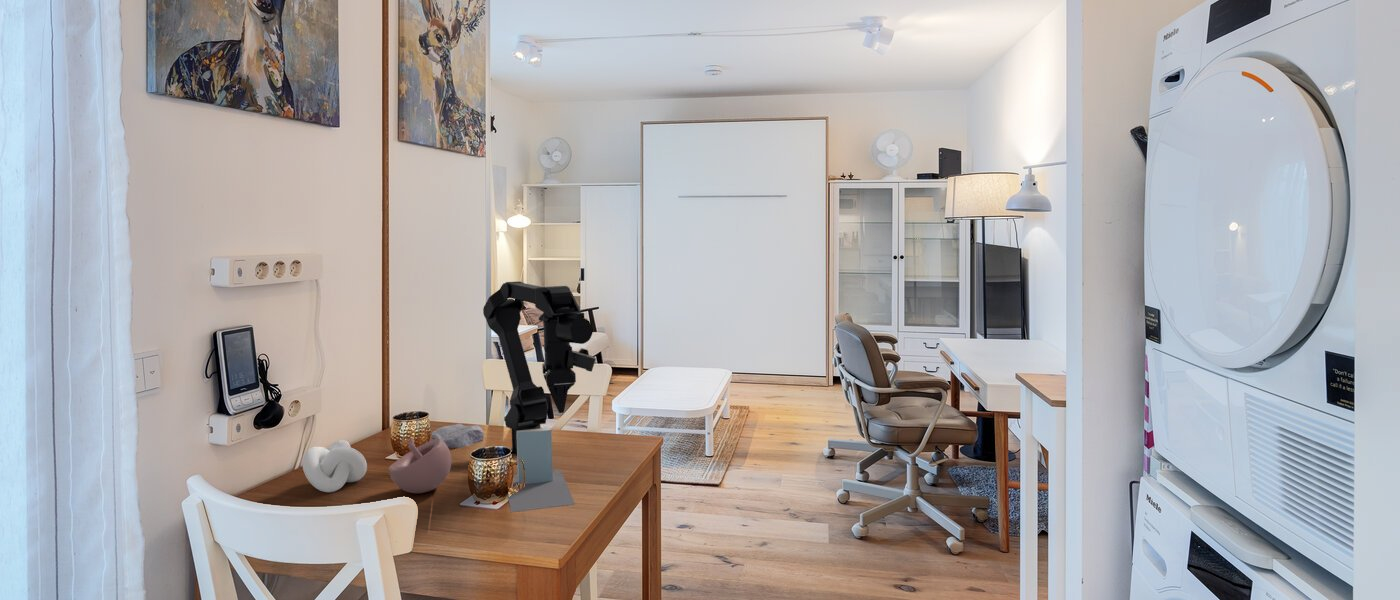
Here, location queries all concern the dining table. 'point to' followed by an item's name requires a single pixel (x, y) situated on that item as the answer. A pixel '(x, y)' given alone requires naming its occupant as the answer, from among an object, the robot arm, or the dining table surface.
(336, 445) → the white knot sculpture
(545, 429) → the tile
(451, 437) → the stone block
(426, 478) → the mortar and pestle
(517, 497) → the mat
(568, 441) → the dining table surface
